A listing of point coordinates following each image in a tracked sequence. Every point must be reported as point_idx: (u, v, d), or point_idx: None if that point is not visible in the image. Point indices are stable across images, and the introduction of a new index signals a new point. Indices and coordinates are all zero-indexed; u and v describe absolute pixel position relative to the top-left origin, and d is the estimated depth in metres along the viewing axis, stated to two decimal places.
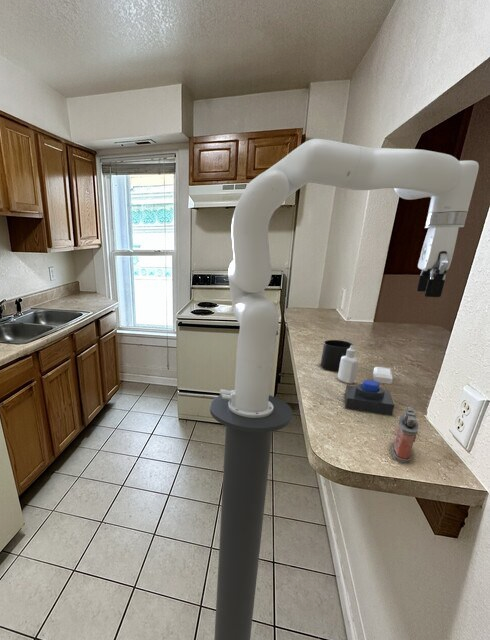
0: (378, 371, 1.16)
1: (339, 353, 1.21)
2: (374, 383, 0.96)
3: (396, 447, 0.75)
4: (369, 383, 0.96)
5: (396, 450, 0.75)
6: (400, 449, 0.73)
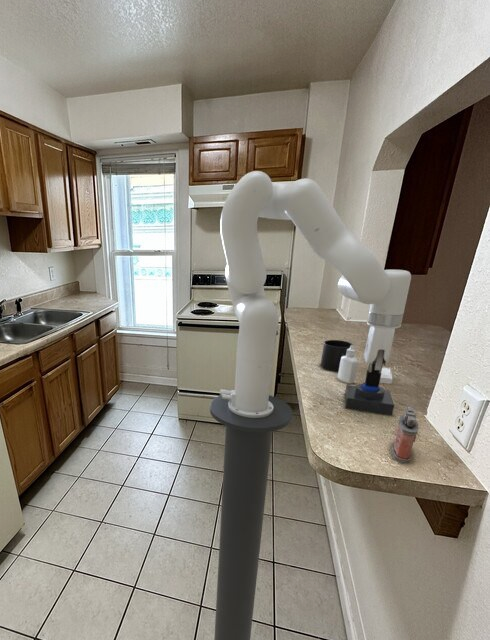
0: None
1: (339, 353, 1.21)
2: None
3: (396, 447, 0.75)
4: (369, 386, 0.96)
5: (396, 450, 0.75)
6: (400, 449, 0.73)
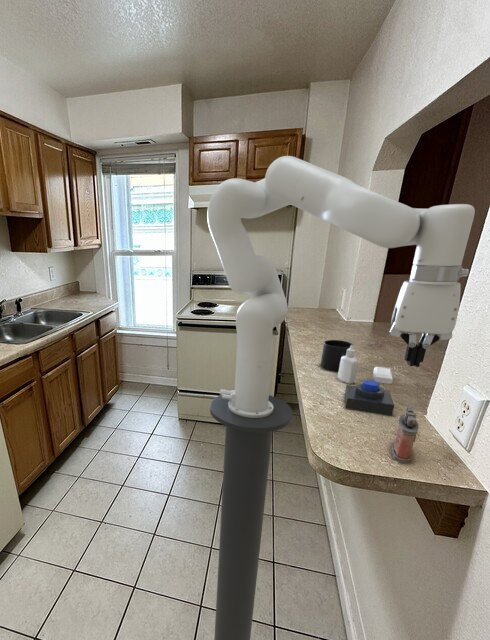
0: (378, 371, 1.16)
1: (339, 353, 1.21)
2: (374, 383, 0.96)
3: (396, 447, 0.75)
4: (369, 383, 0.96)
5: (396, 450, 0.75)
6: (400, 449, 0.73)
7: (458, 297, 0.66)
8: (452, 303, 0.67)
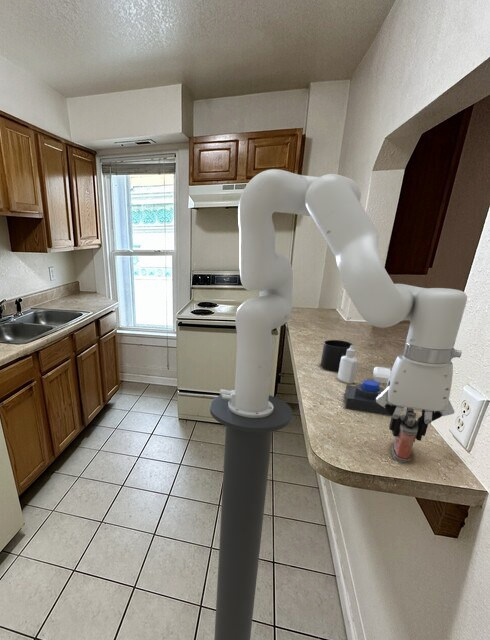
0: (378, 371, 1.16)
1: (339, 353, 1.21)
2: (374, 383, 0.96)
3: (396, 447, 0.75)
4: (369, 383, 0.96)
5: (396, 450, 0.75)
6: (400, 449, 0.73)
7: (450, 378, 0.67)
8: (444, 383, 0.67)
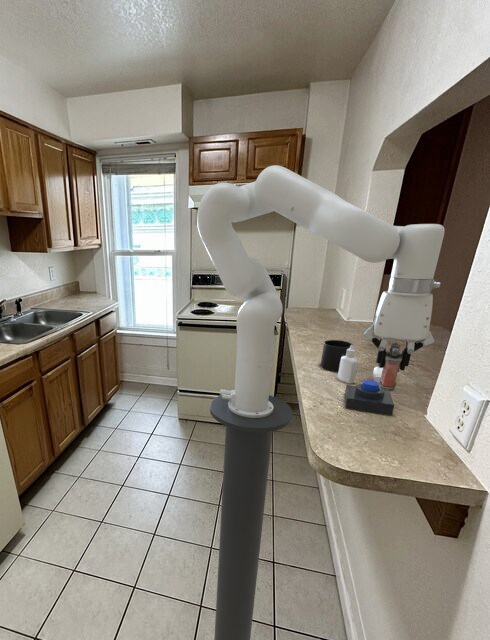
0: (378, 371, 1.16)
1: (339, 353, 1.21)
2: (374, 383, 0.96)
3: (382, 378, 0.81)
4: (369, 383, 0.96)
5: (382, 380, 0.81)
6: (385, 379, 0.80)
7: (430, 307, 0.73)
8: (424, 312, 0.73)
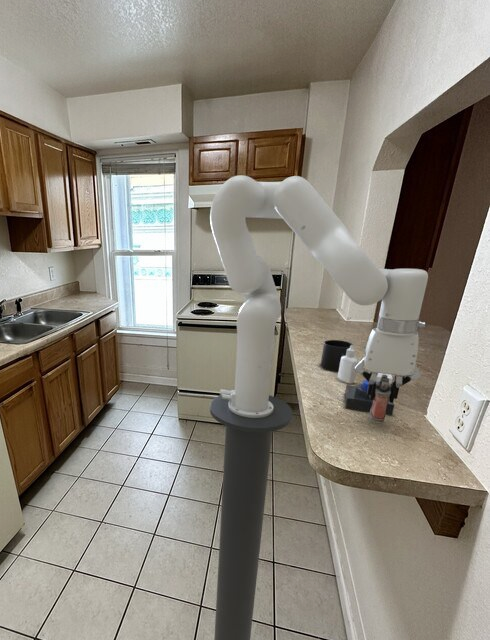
0: None
1: (339, 353, 1.21)
2: None
3: (372, 409, 0.86)
4: None
5: (372, 412, 0.85)
6: (375, 411, 0.84)
7: (416, 346, 0.78)
8: (411, 350, 0.78)
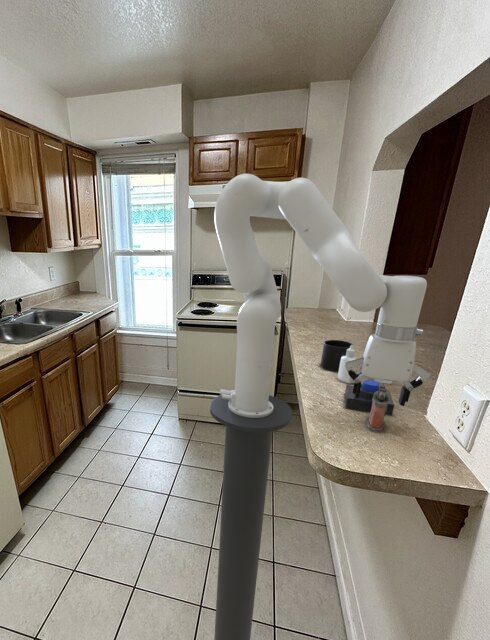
0: None
1: (339, 353, 1.21)
2: (374, 383, 0.96)
3: (370, 419, 0.87)
4: (369, 383, 0.96)
5: (370, 421, 0.86)
6: (373, 420, 0.85)
7: (413, 353, 0.78)
8: (408, 357, 0.79)
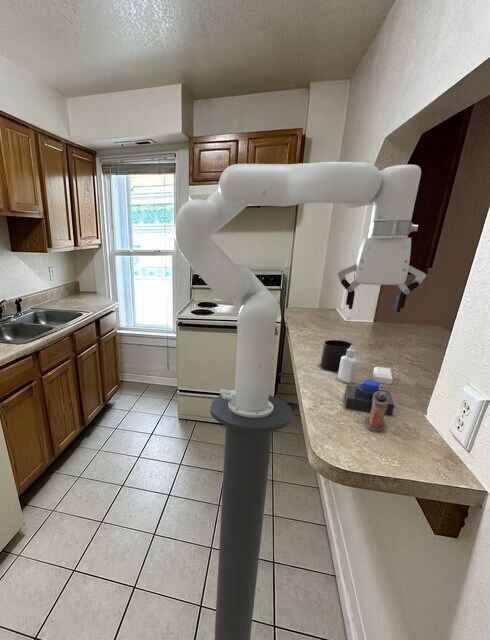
0: (378, 371, 1.16)
1: (339, 353, 1.21)
2: (374, 383, 0.96)
3: (370, 419, 0.87)
4: (369, 383, 0.96)
5: (370, 421, 0.86)
6: (373, 420, 0.85)
7: (408, 250, 0.74)
8: (403, 255, 0.75)
